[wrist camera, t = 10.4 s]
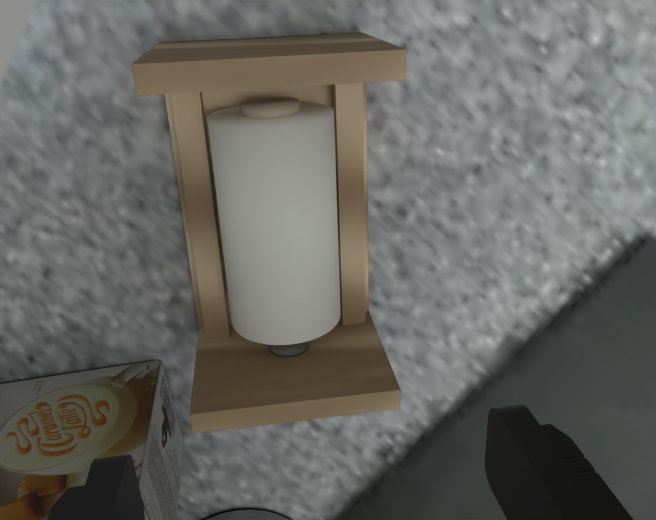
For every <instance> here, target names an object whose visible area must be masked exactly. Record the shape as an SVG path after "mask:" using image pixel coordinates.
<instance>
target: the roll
mask: <svg viewBox="0 0 656 520" xmlns="http://www.w3.org/2000/svg"><path fill="white" fill-rule="evenodd" d="M207 122H208V130H209V138H210V147H211V155H212V163H213V171H214V180H215V188H216V196H217V205H218V213H219V221H220V229H221V238H222V246H223V254H224V262H225V271H226V279H227V287H228V295H229V304H230V312H231V320H232V325H233V328H234V329H235V331H236V332H237V333H238V334H239V335H241V336H242V337H244V338H246V339H248V340H251V341H253V342H257V343H261V344H268V345H291V344H298V343H303V342H307V341H310V340H313V339H316V338H318V337H321V336H323V335H325V334H326V333H328V332H329V331H331V330H332V329H333V328H334V327H335V326H336V325H337V323H338V322H339V319H340V315H341V310H340V280H339V250H338V220H337V190H336V160H335V130H334V110H333V108H331V107H329V106H327V105H323V104H318V103H310V102H299V100H298V99H296V98H291V97H264V98H256V99H250V100H246V101H243V102H242V103H241V105H238V106H233V107H228V108H224V109H220V110H217V111H215V112H213V113H211V114H209V115H208V116H207Z"/></svg>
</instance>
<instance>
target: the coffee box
mask: <svg viewBox="0 0 656 520" xmlns="http://www.w3.org/2000/svg"><path fill="white" fill-rule="evenodd" d="M183 449H184V442H183V437H182V433H181V429H180V426H179V422H178V419H177V415H176V411H175V407H174V404H173V400H172V396H171V392H170V389H169V385H168V382H167V378H166V375H165V371H164V367H163V364H162V362H161V361H159V360H156V361H148V362H142V363H136V364H129V365H122V366H116V367H109V368H103V369H96V370H89V371H83V372H76V373H70V374H63V375H56V376H50V377H44V378H37V379H31V380H24V381H18V382H11V383H5V384H0V520H47V518H48V515H49V512H50V510H51V508H52V506H53V505H54V504H55V503H56V502H57V500H58V499H59V498H60V497H61V496H62V494H63V493H64V492H65V491H66V490H67V488H69V487H77V486H84V485H85V483H86V480H87V477H88V473H89V470H90V467H91V464H92V462H93V460H94V459H97V458H105V457H113V456H120V455H128V454H130V455H131V456H132V458H133V462H134V466H135V471H136V475H137V480H138V484H139V489H140V493H141V498H142V502H143V507H144V514H145V520H176V518H177V506H178V497H179V487H180V476H181V466H182V458H183Z"/></svg>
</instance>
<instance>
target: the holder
mask: <svg viewBox="0 0 656 520" xmlns="http://www.w3.org/2000/svg"><path fill="white" fill-rule="evenodd" d="M132 70H133V76H134V82H135V88H136V94H137V96H148V95H165V100H166V107H167V113H168V120H169V127H170V134H171V141H172V147H173V154H174V161H175V168H176V175H177V181H178V188H179V195H180V202H181V209H182V215H183V222H184V229H185V236H186V243H187V249H188V256H189V263H190V270H191V277H192V283H193V290H194V297H195V304H196V311H197V317H198V324H199V334H198V343H197V352H196V361H195V371H194V380H193V389H192V398H191V407H190V419H191V425H192V431H193V433H200V432H208V431H216V430H225V429H233V428H241V427H250V426H258V425H266V424H275V423H283V422H291V421H300V420H308V419H316V418H325V417H333V416H341V415H350V414H358V413H366V412H375V411H383V410H391V409H400V393H401V390H400V387H399V385H398V382H397V380H396V377H395V375H394V372H393V370H392V368H391V365H390V363H389V360H388V358H387V355H386V353H385V350H384V348H383V345H382V343H381V340H380V338H379V335H378V333H377V330H376V328H375V326H374V323H373V321H372V318H371V316H370V313H369V292H368V193H367V94H366V82H383V81H400V80H406V49H404V48H401V47H398V46H396V45H393V44H390V43H388V42H385V41H383V40H380V39H377V38H375V37H372V36H369V35H367V34H364V33H343V34H323V35H303V36H283V37H263V38H244V39H224V40H204V41H184V42H164V43H159V44H158V45H156V46H155V47H154V48H152V49H151V50H150V51H148V52H147V53H146V54H144V55H143V56H142V57H140V58H139V59H138V60H137V61H135V62H134V63H133V64H132ZM264 97H291V98H296V99H298V100H299V102H310V103H318V104H323V105H327V106H329V107H331V108H333V110H334V130H335V160H336V190H337V220H338V250H339V280H340V310H341V315H340V319H339V322H338V323H337V325H336V326H335V327H334V328H333V329H332V330H331V331H329V332H328V333H326V334H325V335H323V336H321V337H318V338H316V339H313V340H310V341H307V342H303V343H298V344H291V345H268V344H261V343H257V342H253V341H251V340H248V339H246V338H244V337H242V336H241V335H239V334H238V333H237V332H236V331H235V329H234V328H233V325H232V320H231V312H230V304H229V295H228V287H227V279H226V271H225V262H224V254H223V246H222V238H221V229H220V221H219V213H218V205H217V196H216V188H215V180H214V171H213V163H212V155H211V147H210V138H209V130H208V122H207V116H208V115H209V114H211V113H213V112H215V111H217V110H220V109H224V108H228V107H233V106H238V105H241V103H242V102H243V101H246V100H250V99H256V98H264Z"/></svg>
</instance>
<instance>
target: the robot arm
mask: <svg viewBox="0 0 656 520" xmlns="http://www.w3.org/2000/svg"><path fill="white" fill-rule="evenodd" d="M485 470H486V475H487V479H488V482H489V485H490V488H491V490H492V492H493V494H494V496H495V497H496V499H497V501H498V503H499V505H500V507H501V509H502V511H503V513H504V515H505V517H506V518H507V520H633V519H632V517H631V516H630V515H629V513H628V512H627V511H626V509H625V508H624V507H623V506H622V504H621V503H620V502H619V500H618V499H617V498H616V496H615V495H614V494H613V492H612V491H611V490H610V489H609V487H608V486H607V485H606V483H605V482H604V481H603V479H602V478H601V477H600V475H599V474H598V473H595V469H594V468H593V466H592V465H591V464H590V462H589V461H588V460H587V459H585V458H584V455H583V453H582V452H581V451H580V449H579V448H578V447H577V445H576V444H575V443H574V442H573V440H572V439H571V438H570V437H569V436H567V435H566V434H564V433H563V432H561V431H560V430H559V429H557V428H556V427H554V426H553V425H551V424H547V425H540V424H539V423H538V422H537V420H536V419H535V417H534V416H533V415H532V413H531V412H530V411H529V409H528V408H527V407H526V406H525V405H514V406H506V407H499V408H492V409H491V410H490V411H489V415H488V426H487V439H486V451H485ZM47 520H145V514H144V507H143V502H142V498H141V493H140V489H139V484H138V480H137V475H136V471H135V466H134V462H133V458H132V456H131V455H130V454H128V455H120V456H113V457H105V458H97V459H94V460H93V462H92V464H91V467H90V470H89V473H88V477H87V480H86V483H85V485H84V486H77V487H69V488H67V490H66V491H65V492H64V493H63V494H62V496H61V497H60V498H59V499H58V500H57V502H56V503H55V504H54V505H53V506H52V508H51V510H50V512H49V515H48V518H47ZM206 520H289V519H287V518H285V517H283V516H281V515H278V514H274V513H271V512H267V511H259V510H237V511H231V512H227V513H222V514H219V515H216V516H214V517H211V518H208V519H206Z"/></svg>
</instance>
